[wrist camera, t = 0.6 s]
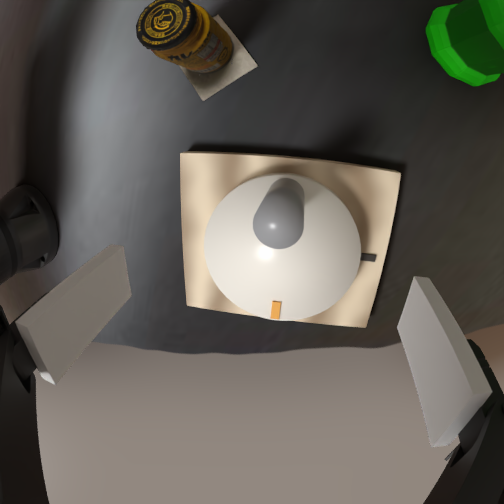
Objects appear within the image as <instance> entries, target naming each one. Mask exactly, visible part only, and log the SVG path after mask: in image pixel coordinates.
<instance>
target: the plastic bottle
mask: <svg viewBox="0 0 504 504" xmlns="http://www.w3.org/2000/svg"><path fill="white" fill-rule="evenodd" d="M426 35H427V39H428V43H429V46H430V50H431V54H432V56H433V57H434V58H435V59H436V60H437V62H438V63H439V64H440V65H441V66H442V68H443V69H444V70H445V71H446V72H447V74H448V75H450V76H451V77H454V78H456V79H458V80H461V81H463V82H465V83H467V84H469V85H471V86H480V85H483V84H486V83H489V82H492V81H495V80H497V79H498V77H499V76H500V74H501V73H504V0H464V1H462V2H461V3H459V4H453V5H447V6H442V7H437V8H436V9H435V10H434V11H433V13H432V15H431V17H430V20H429V22H428V24H427V27H426Z"/></svg>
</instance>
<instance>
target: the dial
mask: <svg viewBox="0 0 504 504" xmlns="http://www.w3.org/2000/svg"><path fill="white" fill-rule="evenodd" d="M204 254H205V260H206V264H207V267H208V270H209V273H210V275H211V277H212V279H213V281H214V282H215V284H216V285H217V287H218V288H219V289H220V291H221V292H222V293H223V294H224V295H225V296H226V297H227V298H228V299H229V300H230V301H231V302H233V303H234V304H235V305H237V306H238V307H240V308H241V309H243V310H245V311H247V312H249V313H251V314H254V315H256V316H259V317H263V318H266V319H272V320H281V321H289V320H299V319H304V318H308V317H311V316H314V315H316V314H319V313H321V312H323V311H325V310H327V309H328V308H330V307H331V306H332V305H334V304H335V303H336V302H337V301H339V300H340V299H341V298H342V297H343V296H344V294H345V293H346V292H347V291H348V289H349V288H350V286H351V285H352V283H353V281H354V279H355V277H356V274H357V271H358V268H359V264H360V257H361V244H360V237H359V233H358V230H357V227H356V224H355V222H354V220H353V218H352V216H351V214H350V211H349V210H348V208H347V207H346V205H345V204H344V202H343V201H342V200H341V199H340V198H339V197H338V196H337V195H336V194H335V193H334V192H333V191H332V190H331V189H329V188H328V187H326V186H325V185H323V184H322V183H320V182H318V181H316V180H314V179H312V178H309V177H306V176H303V175H299V174H293V173H269V174H264V175H260V176H257V177H254V178H252V179H249V180H247V181H245V182H244V183H242V184H240V185H238V186H237V187H236V188H235V189H233V190H232V191H231V192H230V193H229V194H228V195H226V197H225V198H224V199H223V200H222V201H221V202H220V203H219V204H218V206H217V207H216V208H215V210H214V211H213V213H212V215H211V217H210V219H209V222H208V224H207V227H206V232H205V237H204Z"/></svg>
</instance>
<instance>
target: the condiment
mask: <svg viewBox="0 0 504 504" xmlns="http://www.w3.org/2000/svg"><path fill="white" fill-rule="evenodd" d="M136 31H137V38H138V39H139V40H140V42H141V43H142V44H143V46H145V47H146V48H147V49H151V50H152V51H153V53H154V54H155V55H156V56H158V57H160V58H162V59H165V60H167V61H169V62H172V63H175V64H177V65H179V66H180V68H181V69H182V71H183V72H184V74H185V75H186V77H187V78H188V80H189V81H190V82H191V84H192V85H193V87H194V88H195V90H196V91H197V93H198V94H199V96H200V97H201V99H202V100H203V101H204V100H206V99H207V98H209V97H210V96H212V95H213V94H215V93H216V92H218V91H219V90H221V89H223V88H224V87H225V86H227V85H229V84H230V83H232V82H233V81H235V80H236V79H238V78H239V77H241V76H242V75H244V74H246V73H248V72H249V71H251V70H252V69H254V68H256V67H257V66H258V65H257V64H256V63H255V61H254V60H253V59H252V57H251V56H250V55H249V53H248V52H247V51H246V49H245V48H244V47H243V45H242V44H241V43H240V41H239V40H238V39H237V37H236V36H235V35H234V34H233V32H232V31H231V30H230V29H229V27H228V26H227V25H226V24H225V22H224V21H223V20H222V19H221V17H220V16H219V15H216V16H215V17H211V15H210V14H209V13H208V12H207V11H206V10H205V9H204V8H202V7H201V6H199V5H197V4H194V3H191V2H190V1H189V0H155V1H154V2H152V3H151V4H150V5H148V6H147V7H146V8H145V9H144V11H143V12H142V13H141V15H140V16H139V19H138V22H137V25H136ZM232 59H233V61H231V60H232ZM231 62H233V64H232V65H231ZM199 74H200V75H199Z"/></svg>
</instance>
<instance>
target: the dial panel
mask: <svg viewBox="0 0 504 504" xmlns="http://www.w3.org/2000/svg"><path fill="white" fill-rule="evenodd" d="M269 173H293V174H299V175H303V176H306V177H309V178H312V179H314V180H316V181H318V182H320V183H322V184H323V185H325V186H326V187H328V188H329V189H331V190H332V191H333V192H334V193H335V194H336V195H337V196H338V197H339V198H340V199H341V200H342V201H343V202H344V204H345V205H346V207H347V208H348V210H349V211H350V214H351V216H352V218H353V220H354V222H355V224H356V227H357V230H358V233H359V237H360V244H361V257H360V264H359V268H358V271H357V274H356V277H355V279H354V281H353V283H352V285H351V286H350V288H349V289H348V291H347V292H346V293H345V294H344V296H343V297H342V298H341V299H340V300H339V301H337V302H336V303H335V304H334V305H332V306H331V307H330V308H328V309H327V310H325V311H323V312H321V313H319V314H316V315H314V316H311V317H308V318H304V319H299V320H291V321H300V322H309V323H319V324H329V325H340V326H351V327H364V328H366V325H367V322H368V319H369V315H370V312H371V309H372V305H373V302H374V298H375V295H376V291H377V288H378V284H379V280H380V276H381V272H382V268H383V264H384V260H385V256H386V252H387V247H388V243H389V238H390V234H391V229H392V224H393V219H394V213H395V208H396V202H397V196H398V190H399V184H400V177H401V173H399V172H398V171H396V170H390V169H384V168H378V167H372V166H366V165H359V164H352V163H345V162H337V161H329V160H321V159H312V158H302V157H292V156H281V155H268V154H252V153H233V152H202V151H186V152H183V153H180V174H181V216H182V239H183V257H184V273H185V287H186V299H187V306H193V307H199V308H205V309H211V310H218V311H224V312H231V313H238V314H245V315H252V316H256V315H254V314H251V313H249V312H247V311H245V310H243V309H241V308H240V307H238V306H237V305H235V304H234V303H233V302H231V301H230V300H229V299H228V298H227V297H226V296H225V295H224V294H223V293H222V292H221V291H220V289H219V288H218V287H217V285H216V284H215V282H214V281H213V279H212V277H211V275H210V273H209V270H208V267H207V264H206V260H205V254H204V237H205V232H206V227H207V224H208V222H209V219H210V217H211V215H212V213H213V211H214V210H215V208H216V207H217V206H218V204H219V203H220V202H221V201H222V200H223V199H224V198H225V197H226V195H228V194H229V193H230V192H231V191H232V190H233V189H235V188H236V187H237V186H238V185H240V184H242V183H244V182H245V181H247V180H249V179H252V178H254V177H257V176H260V175H264V174H269Z"/></svg>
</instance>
